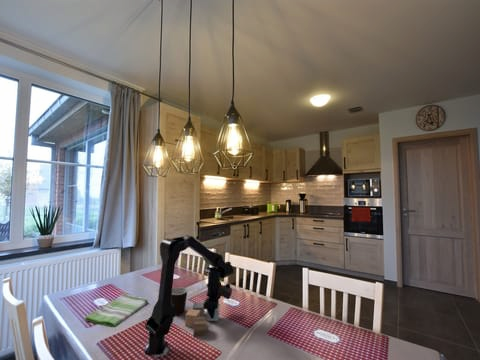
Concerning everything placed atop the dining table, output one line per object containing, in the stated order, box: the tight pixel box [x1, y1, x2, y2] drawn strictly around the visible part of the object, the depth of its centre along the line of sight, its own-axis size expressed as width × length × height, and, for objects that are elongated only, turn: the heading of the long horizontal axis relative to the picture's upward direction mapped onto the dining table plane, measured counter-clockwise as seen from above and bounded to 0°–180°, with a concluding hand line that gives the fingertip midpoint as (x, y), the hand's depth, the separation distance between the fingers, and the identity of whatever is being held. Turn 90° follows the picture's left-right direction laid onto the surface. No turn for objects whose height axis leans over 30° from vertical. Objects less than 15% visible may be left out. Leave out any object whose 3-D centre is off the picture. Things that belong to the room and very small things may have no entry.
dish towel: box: [84, 293, 149, 327], centre depth 112 cm, size 17×23×4 cm
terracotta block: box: [184, 308, 200, 328], centre depth 102 cm, size 5×5×5 cm
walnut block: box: [192, 316, 207, 337], centre depth 96 cm, size 5×5×5 cm
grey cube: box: [206, 305, 220, 322], centre depth 106 cm, size 5×5×5 cm
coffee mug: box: [171, 286, 188, 316], centre depth 114 cm, size 12×9×10 cm
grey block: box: [192, 301, 205, 317], centre depth 109 cm, size 5×5×5 cm
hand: (213, 315), depth 106 cm, fingers closed on grey cube, 5 cm apart
